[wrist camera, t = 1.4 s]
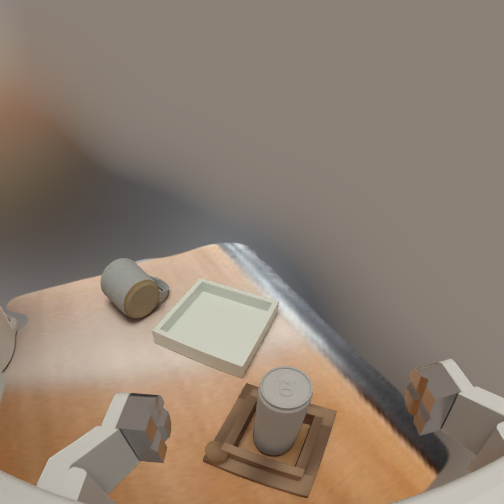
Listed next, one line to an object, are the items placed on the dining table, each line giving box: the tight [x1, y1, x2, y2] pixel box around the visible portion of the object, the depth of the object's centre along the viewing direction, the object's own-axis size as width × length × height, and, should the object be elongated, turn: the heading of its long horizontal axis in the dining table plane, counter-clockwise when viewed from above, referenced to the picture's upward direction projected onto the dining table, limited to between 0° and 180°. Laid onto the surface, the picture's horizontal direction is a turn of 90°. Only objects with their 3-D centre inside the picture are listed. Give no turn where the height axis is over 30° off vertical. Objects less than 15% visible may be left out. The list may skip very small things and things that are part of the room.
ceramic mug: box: [101, 258, 169, 319], centre depth 49 cm, size 11×8×8 cm
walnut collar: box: [203, 383, 336, 498], centre depth 31 cm, size 12×12×2 cm
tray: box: [152, 278, 279, 378], centre depth 46 cm, size 14×14×3 cm
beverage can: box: [253, 366, 313, 456], centre depth 28 cm, size 5×5×12 cm
